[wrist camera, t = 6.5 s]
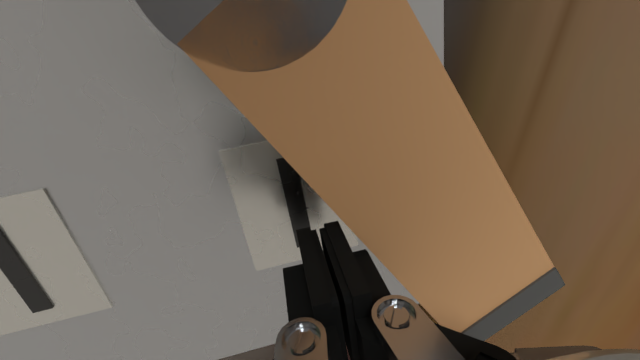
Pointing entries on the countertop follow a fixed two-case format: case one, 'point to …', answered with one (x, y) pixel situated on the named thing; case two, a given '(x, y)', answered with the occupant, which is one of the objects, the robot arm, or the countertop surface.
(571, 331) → the countertop surface
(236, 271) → the board
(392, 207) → the swing arm
